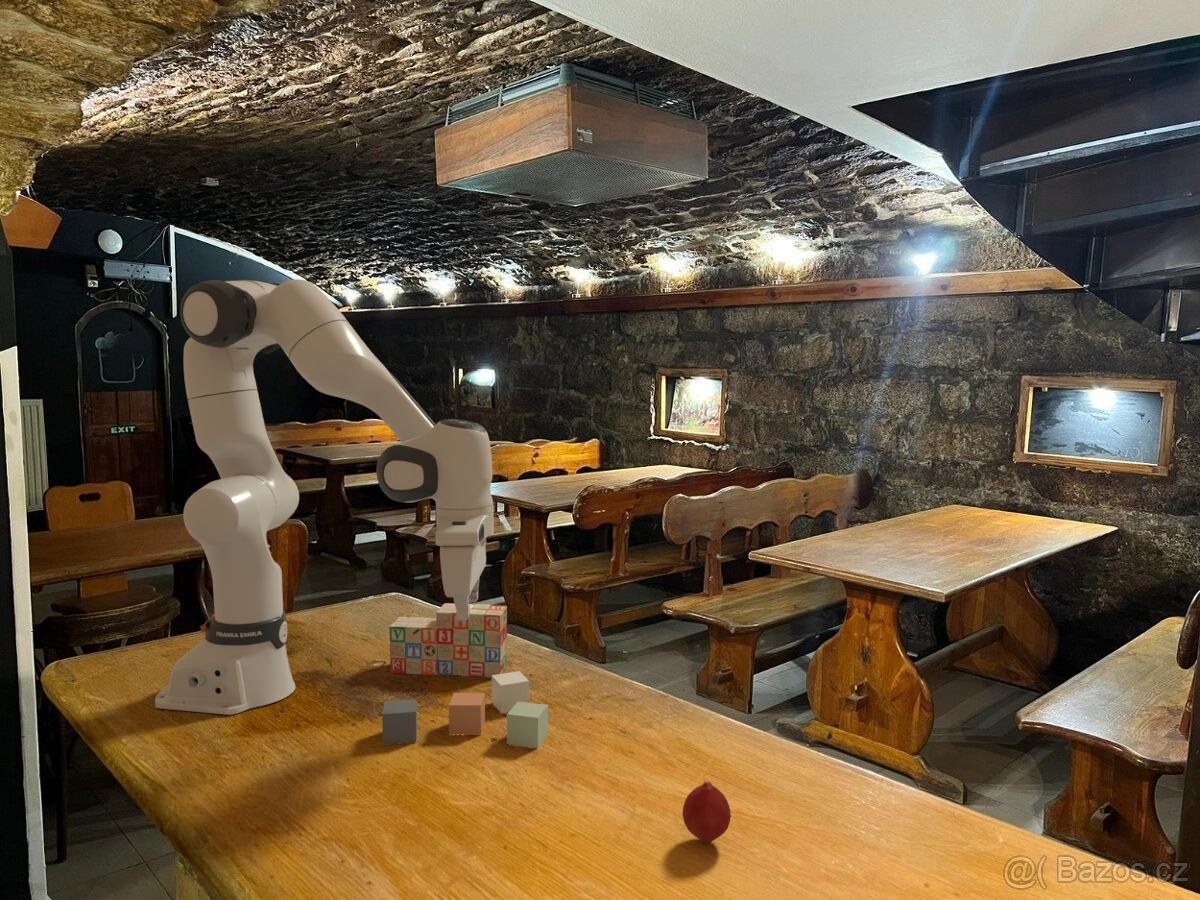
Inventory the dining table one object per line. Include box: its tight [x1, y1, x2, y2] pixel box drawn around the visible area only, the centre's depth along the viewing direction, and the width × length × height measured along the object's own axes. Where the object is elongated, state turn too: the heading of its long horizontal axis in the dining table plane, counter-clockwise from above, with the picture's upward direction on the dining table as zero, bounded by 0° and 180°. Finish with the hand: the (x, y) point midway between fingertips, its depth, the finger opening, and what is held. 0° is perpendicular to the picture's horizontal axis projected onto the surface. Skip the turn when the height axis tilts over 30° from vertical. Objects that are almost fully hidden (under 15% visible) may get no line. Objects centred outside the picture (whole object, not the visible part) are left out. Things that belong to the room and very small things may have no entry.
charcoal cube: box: [381, 698, 418, 746], centre depth 131 cm, size 5×5×5 cm
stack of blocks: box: [388, 602, 508, 678], centre depth 159 cm, size 21×6×12 cm, turn 85°
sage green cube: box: [506, 702, 549, 749], centre depth 130 cm, size 5×5×5 cm
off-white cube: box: [491, 670, 530, 714], centre depth 143 cm, size 5×5×5 cm
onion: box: [682, 779, 732, 845], centre depth 102 cm, size 6×6×8 cm
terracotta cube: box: [448, 692, 486, 736], centre depth 134 cm, size 5×5×5 cm
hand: (467, 610), depth 132 cm, fingers open, 8 cm apart
